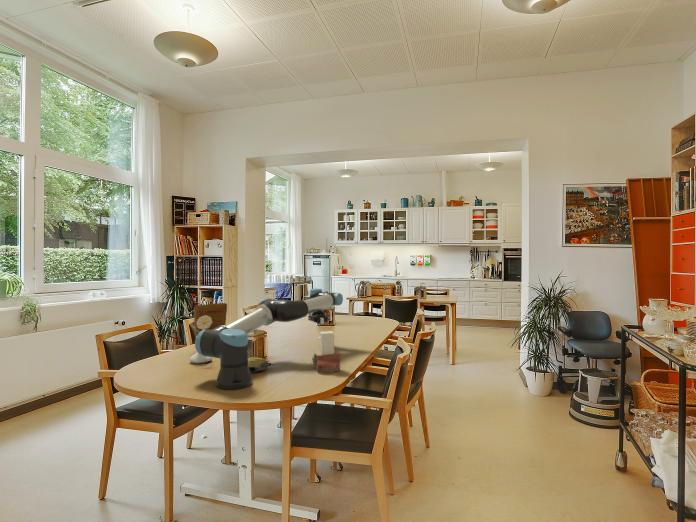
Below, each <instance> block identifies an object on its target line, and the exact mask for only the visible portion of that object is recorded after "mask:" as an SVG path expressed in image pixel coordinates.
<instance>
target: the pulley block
mask: <svg viewBox="0 0 696 522" xmlns="http://www.w3.org/2000/svg"><path fill="white" fill-rule="evenodd" d="M274 365H275V364H274V363H271V362H270V360H266V359H265V358H263V357H254V356H248V367H249V370H250V373H251V374H254V373H257V372H259V371H265V370H266V369H268V368H269V367H271V366H274Z"/></svg>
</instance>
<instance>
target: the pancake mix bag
mask: <svg viewBox="0 0 696 522" xmlns="http://www.w3.org/2000/svg"><path fill="white" fill-rule="evenodd" d="M195 305H196V304H195ZM227 312H228V304H227V303H225V302H220V303H210V304H197V305H196V306H194V307H193V320H194V323H193V325H194V330H195V337H196V336H197V335H198V333H199V332H201V331H202V329H199V328H197V327H198V326H197V324H196V322H197V320H198V319H199V318H201V317H202V316H205V315H206V316H209V317H210V318H211V319H212V324H211V325H210V327H209V328H206V329H209V330H212V329H214V328H216V327H218V326H220V325H224V326H226V323H227V314H228V313H227ZM196 330H197V331H196ZM198 331H199V332H198Z"/></svg>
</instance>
